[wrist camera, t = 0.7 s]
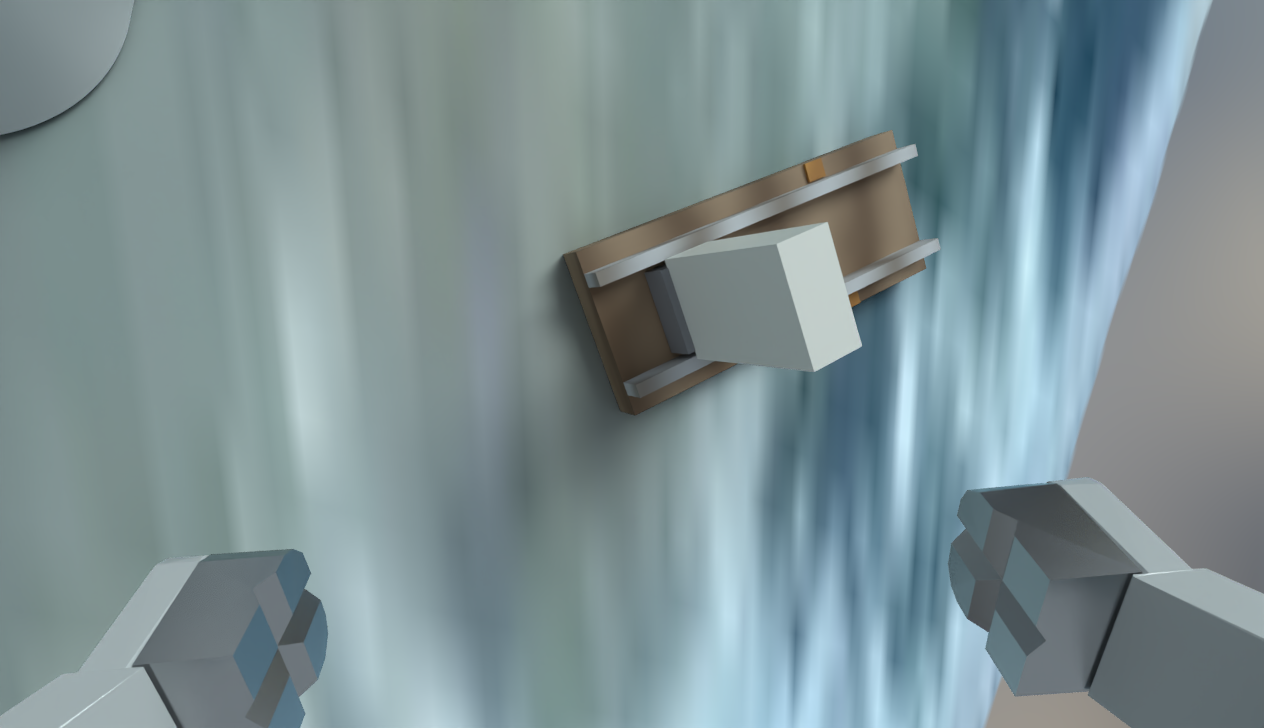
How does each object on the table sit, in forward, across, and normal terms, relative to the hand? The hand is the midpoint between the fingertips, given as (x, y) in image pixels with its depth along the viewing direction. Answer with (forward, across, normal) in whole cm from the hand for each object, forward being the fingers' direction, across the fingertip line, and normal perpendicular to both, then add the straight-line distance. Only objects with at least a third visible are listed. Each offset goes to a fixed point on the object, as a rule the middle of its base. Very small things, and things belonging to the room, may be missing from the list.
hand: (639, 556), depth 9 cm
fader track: (+37, -10, +11) cm, 40 cm away
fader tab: (+32, -5, +11) cm, 34 cm away
